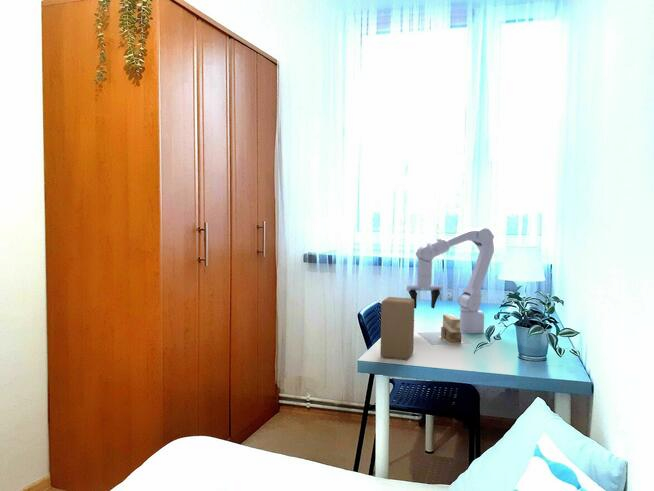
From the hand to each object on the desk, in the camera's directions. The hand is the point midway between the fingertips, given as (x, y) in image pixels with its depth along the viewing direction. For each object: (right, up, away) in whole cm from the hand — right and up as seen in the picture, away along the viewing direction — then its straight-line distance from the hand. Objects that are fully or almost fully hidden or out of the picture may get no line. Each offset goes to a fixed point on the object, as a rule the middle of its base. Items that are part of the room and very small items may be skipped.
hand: (423, 307), depth 235 cm
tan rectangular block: (+9, -7, -13) cm, 17 cm away
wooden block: (-16, -13, -36) cm, 42 cm away
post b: (+9, -11, -15) cm, 21 cm away
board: (+6, -11, -10) cm, 16 cm away
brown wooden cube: (+8, -11, -9) cm, 16 cm away
